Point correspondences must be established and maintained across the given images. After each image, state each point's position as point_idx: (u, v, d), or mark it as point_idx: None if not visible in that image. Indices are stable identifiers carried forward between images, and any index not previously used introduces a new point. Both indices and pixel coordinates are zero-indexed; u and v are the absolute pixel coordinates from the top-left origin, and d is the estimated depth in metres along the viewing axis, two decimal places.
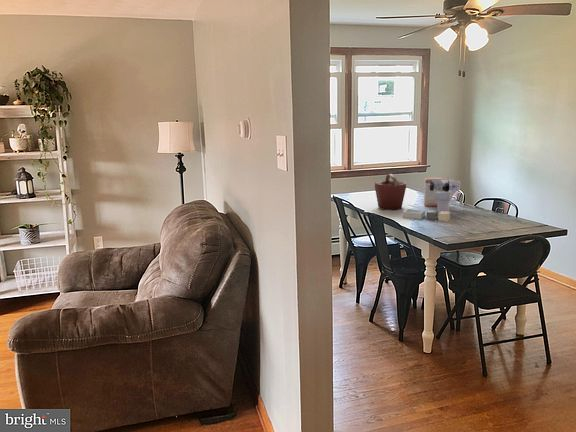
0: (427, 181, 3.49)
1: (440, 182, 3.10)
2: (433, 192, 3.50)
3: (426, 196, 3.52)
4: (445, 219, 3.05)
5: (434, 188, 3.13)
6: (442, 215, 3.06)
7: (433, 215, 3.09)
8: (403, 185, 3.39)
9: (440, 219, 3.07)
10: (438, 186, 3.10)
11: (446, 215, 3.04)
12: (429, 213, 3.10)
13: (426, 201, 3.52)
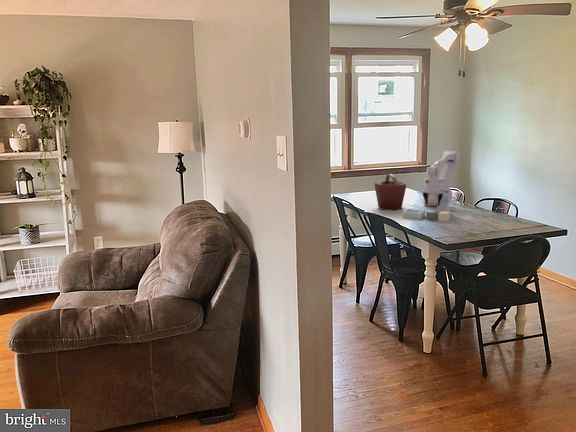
0: (427, 181, 3.49)
1: (432, 193, 3.08)
2: None
3: None
4: (445, 219, 3.05)
5: None
6: (442, 215, 3.06)
7: (433, 215, 3.09)
8: (403, 185, 3.39)
9: (440, 219, 3.07)
10: (431, 193, 3.11)
11: (446, 215, 3.04)
12: (429, 213, 3.10)
13: None
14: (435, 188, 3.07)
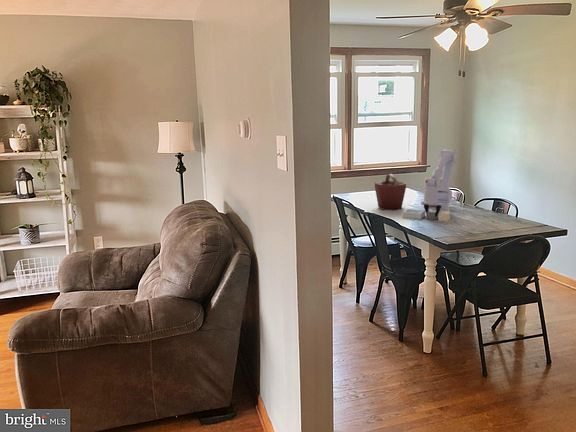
0: (427, 181, 3.49)
1: (431, 204, 3.10)
2: None
3: (426, 196, 3.52)
4: (445, 219, 3.05)
5: None
6: (442, 215, 3.06)
7: (433, 215, 3.09)
8: (403, 185, 3.39)
9: (440, 219, 3.07)
10: None
11: (446, 215, 3.04)
12: (429, 213, 3.10)
13: (426, 201, 3.52)
14: (434, 200, 3.09)
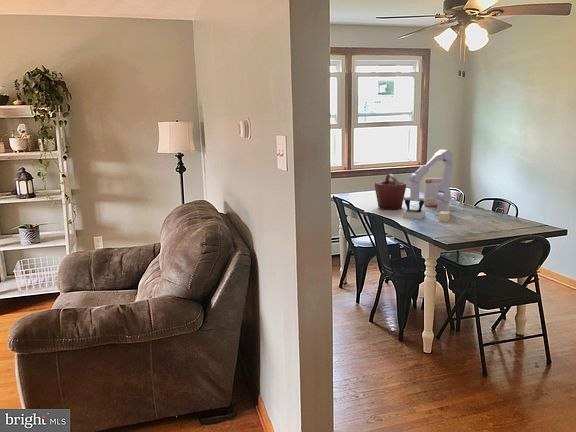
0: (427, 181, 3.49)
1: (413, 199, 3.15)
2: (433, 192, 3.50)
3: (426, 196, 3.52)
4: (445, 219, 3.05)
5: (410, 198, 3.20)
6: (442, 215, 3.06)
7: (415, 212, 3.15)
8: (403, 185, 3.39)
9: (440, 219, 3.07)
10: (413, 200, 3.18)
11: (446, 215, 3.04)
12: (411, 210, 3.16)
13: (426, 201, 3.52)
14: (416, 195, 3.14)
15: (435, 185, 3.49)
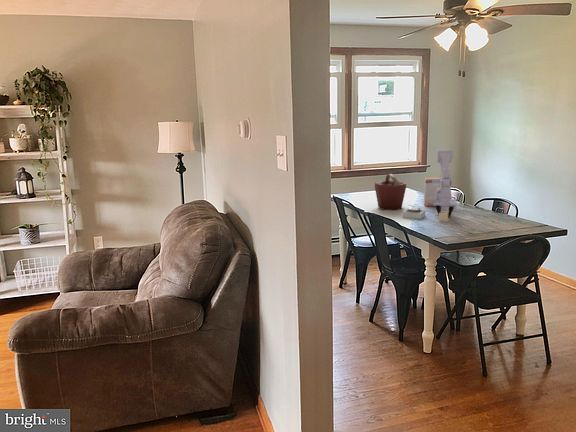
0: (427, 181, 3.49)
1: (444, 205, 3.05)
2: (433, 192, 3.50)
3: (426, 196, 3.52)
4: (445, 219, 3.05)
5: None
6: (442, 215, 3.06)
7: (415, 212, 3.15)
8: (403, 185, 3.39)
9: (440, 219, 3.07)
10: (443, 206, 3.08)
11: (446, 215, 3.04)
12: (411, 210, 3.16)
13: (426, 201, 3.52)
14: (447, 201, 3.04)
15: (435, 185, 3.49)
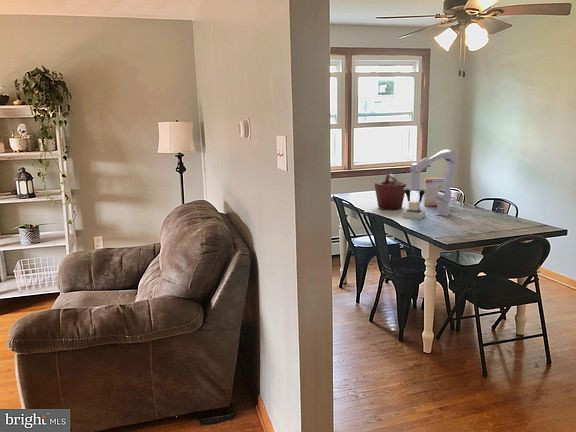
0: (427, 181, 3.49)
1: (413, 189, 3.14)
2: (433, 192, 3.50)
3: (426, 196, 3.52)
4: (415, 208, 3.14)
5: None
6: (412, 204, 3.15)
7: (415, 212, 3.15)
8: (403, 185, 3.39)
9: (410, 208, 3.16)
10: (413, 190, 3.16)
11: (415, 204, 3.13)
12: (411, 210, 3.16)
13: (426, 201, 3.52)
14: (417, 185, 3.13)
15: (435, 185, 3.49)
